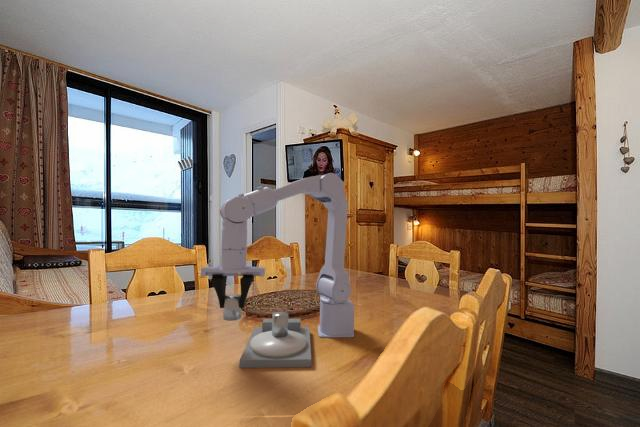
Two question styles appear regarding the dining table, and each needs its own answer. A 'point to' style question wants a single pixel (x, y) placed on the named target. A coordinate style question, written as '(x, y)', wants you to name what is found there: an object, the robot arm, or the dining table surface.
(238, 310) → the cylinder
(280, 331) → the cylinder
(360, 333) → the dining table surface
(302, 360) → the scale
